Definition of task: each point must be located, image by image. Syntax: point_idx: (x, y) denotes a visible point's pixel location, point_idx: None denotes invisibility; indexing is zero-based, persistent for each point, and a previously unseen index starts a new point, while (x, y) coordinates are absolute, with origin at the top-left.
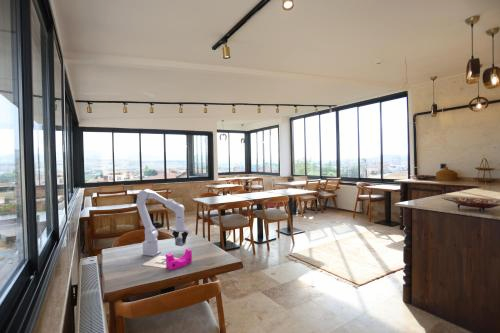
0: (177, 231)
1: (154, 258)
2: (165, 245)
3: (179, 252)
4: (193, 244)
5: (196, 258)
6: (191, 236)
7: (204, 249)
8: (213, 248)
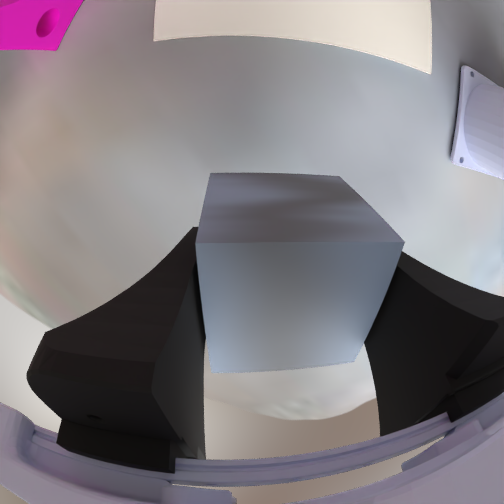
0: (451, 484)
1: (424, 6)
2: None
3: None
4: None
5: (27, 122)
6: (334, 412)
7: None
8: None
